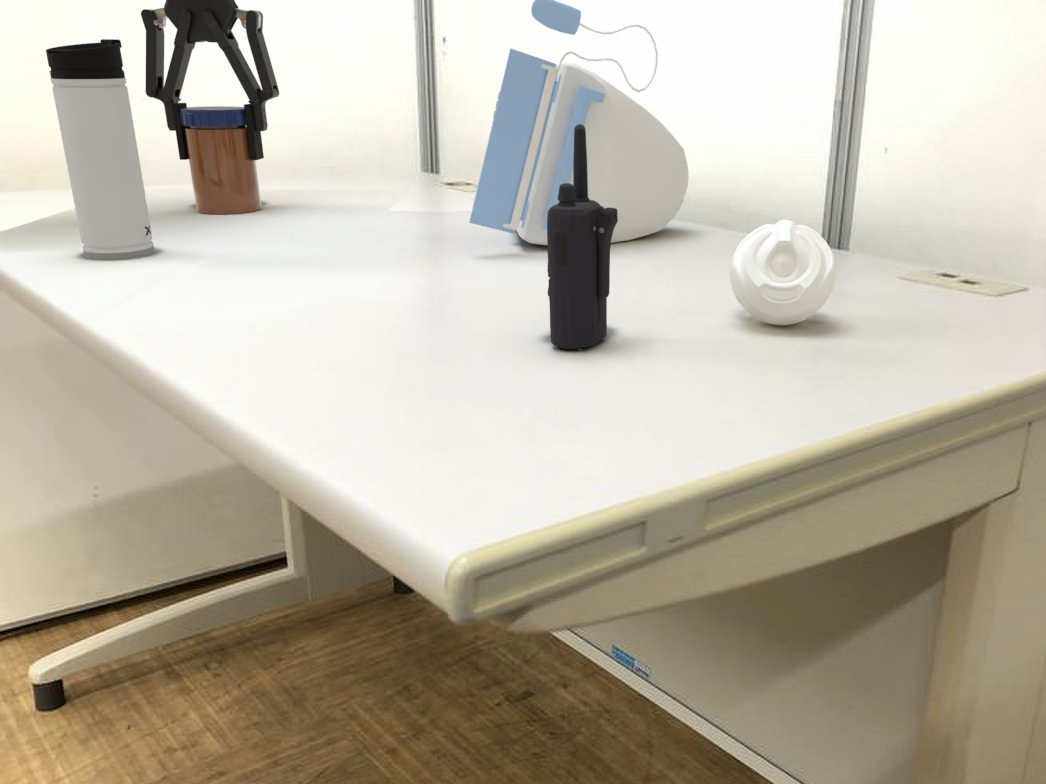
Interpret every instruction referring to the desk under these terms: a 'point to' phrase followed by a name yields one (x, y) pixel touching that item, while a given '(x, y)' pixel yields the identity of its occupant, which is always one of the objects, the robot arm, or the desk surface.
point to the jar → (222, 170)
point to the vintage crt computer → (548, 145)
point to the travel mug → (101, 149)
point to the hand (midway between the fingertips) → (222, 158)
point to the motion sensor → (782, 273)
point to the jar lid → (213, 116)
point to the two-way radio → (578, 258)
